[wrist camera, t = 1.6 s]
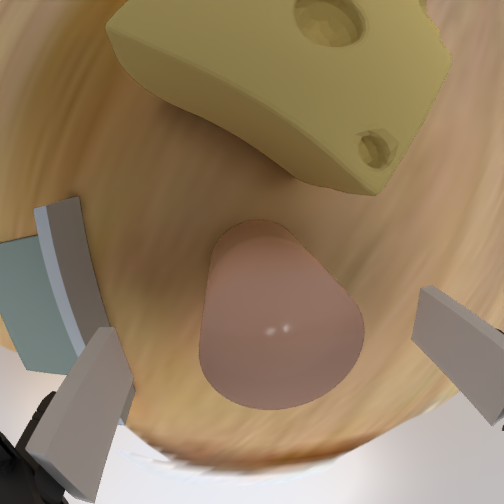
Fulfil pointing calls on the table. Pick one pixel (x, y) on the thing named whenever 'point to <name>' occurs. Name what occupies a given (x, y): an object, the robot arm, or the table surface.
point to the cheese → (294, 77)
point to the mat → (32, 309)
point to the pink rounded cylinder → (274, 321)
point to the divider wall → (73, 275)
